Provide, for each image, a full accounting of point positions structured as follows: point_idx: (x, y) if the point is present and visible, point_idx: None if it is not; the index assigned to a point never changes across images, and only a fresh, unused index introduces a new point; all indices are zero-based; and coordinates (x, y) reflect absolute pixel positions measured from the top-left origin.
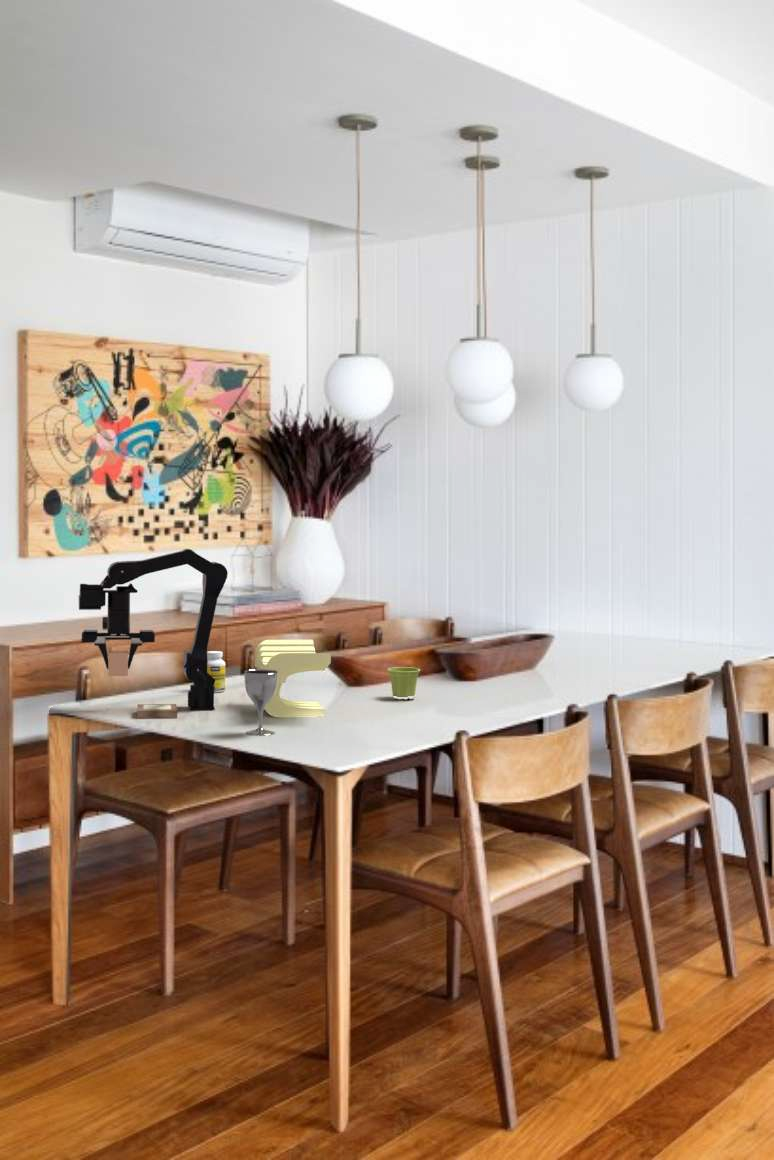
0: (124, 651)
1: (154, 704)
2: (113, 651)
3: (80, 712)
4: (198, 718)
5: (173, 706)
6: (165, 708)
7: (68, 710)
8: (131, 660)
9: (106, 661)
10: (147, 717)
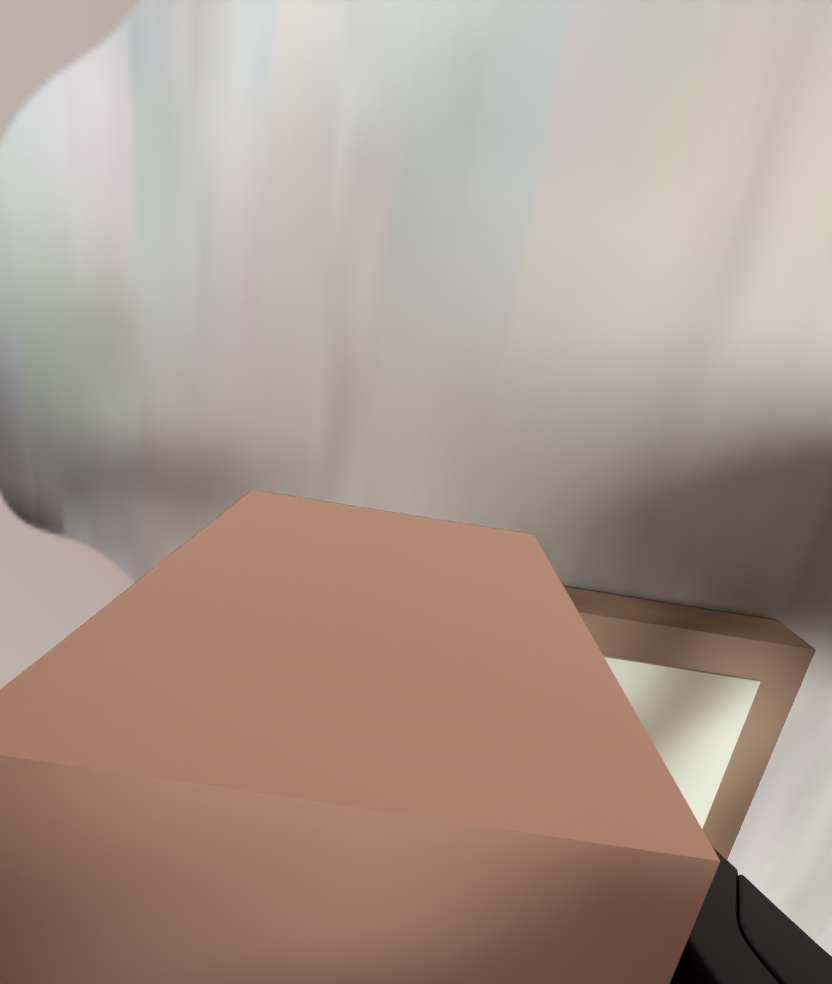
0: (535, 973)
1: (654, 634)
2: (127, 922)
3: (143, 510)
4: (811, 853)
5: (755, 740)
6: None
7: (55, 408)
8: None
9: None
10: None
